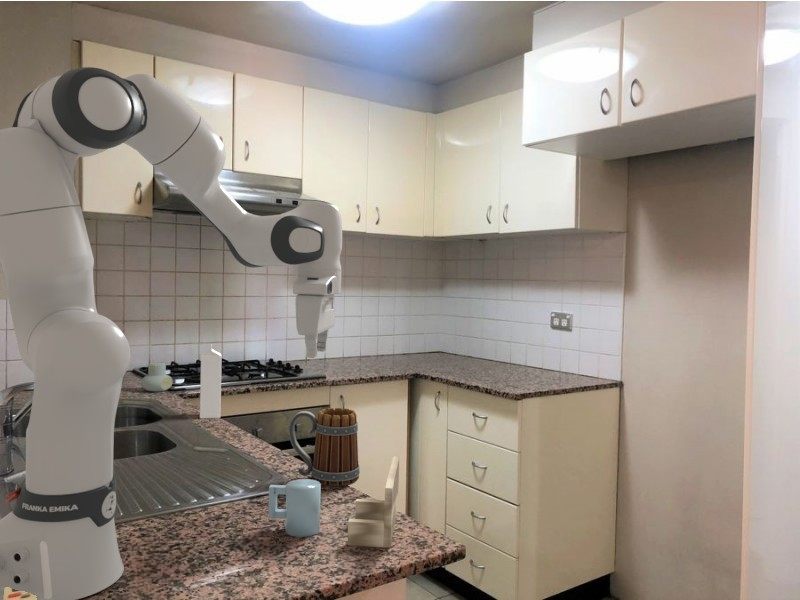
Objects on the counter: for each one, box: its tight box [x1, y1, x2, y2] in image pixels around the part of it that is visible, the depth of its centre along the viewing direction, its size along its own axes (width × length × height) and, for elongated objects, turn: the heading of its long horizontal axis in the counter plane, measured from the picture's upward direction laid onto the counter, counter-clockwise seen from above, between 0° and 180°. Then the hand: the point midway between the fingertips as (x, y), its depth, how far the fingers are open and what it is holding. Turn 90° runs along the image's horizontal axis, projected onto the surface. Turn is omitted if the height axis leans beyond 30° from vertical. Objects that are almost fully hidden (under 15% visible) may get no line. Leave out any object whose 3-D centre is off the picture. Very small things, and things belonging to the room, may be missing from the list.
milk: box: [199, 343, 223, 419], centre depth 188 cm, size 6×6×22 cm
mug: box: [288, 407, 360, 488], centre depth 134 cm, size 16×11×15 cm
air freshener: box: [140, 361, 174, 393], centre depth 224 cm, size 11×8×10 cm
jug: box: [267, 478, 322, 538], centre depth 108 cm, size 9×6×8 cm, turn 87°
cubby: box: [347, 455, 400, 549], centre depth 111 cm, size 7×18×10 cm, turn 176°
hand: (316, 354), depth 121 cm, fingers open, 8 cm apart
